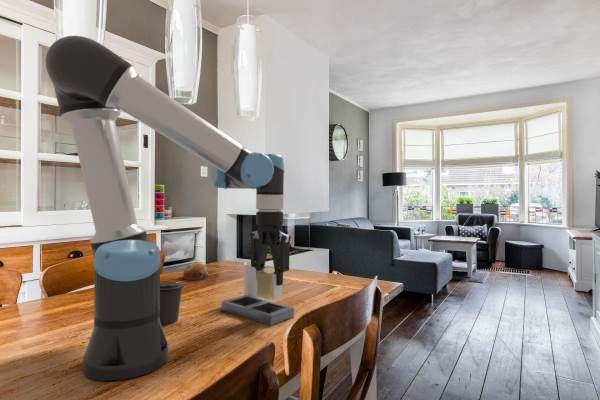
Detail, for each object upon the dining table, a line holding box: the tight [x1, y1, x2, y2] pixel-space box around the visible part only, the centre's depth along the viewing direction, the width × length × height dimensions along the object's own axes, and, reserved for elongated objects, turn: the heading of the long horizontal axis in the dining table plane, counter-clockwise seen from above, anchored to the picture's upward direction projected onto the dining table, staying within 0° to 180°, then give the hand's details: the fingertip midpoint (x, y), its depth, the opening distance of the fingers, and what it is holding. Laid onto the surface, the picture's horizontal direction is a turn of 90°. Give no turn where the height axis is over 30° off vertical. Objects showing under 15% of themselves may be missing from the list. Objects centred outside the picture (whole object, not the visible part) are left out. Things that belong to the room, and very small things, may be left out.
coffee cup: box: [160, 281, 184, 326], centre depth 95 cm, size 8×8×10 cm
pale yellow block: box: [257, 267, 284, 301], centre depth 99 cm, size 5×5×7 cm
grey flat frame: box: [221, 294, 295, 326], centre depth 102 cm, size 9×20×2 cm, turn 51°
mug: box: [243, 261, 265, 300], centre depth 116 cm, size 10×7×12 cm, turn 157°
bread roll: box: [182, 262, 210, 281], centre depth 147 cm, size 10×10×8 cm
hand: (269, 294), depth 99 cm, fingers closed on pale yellow block, 5 cm apart
